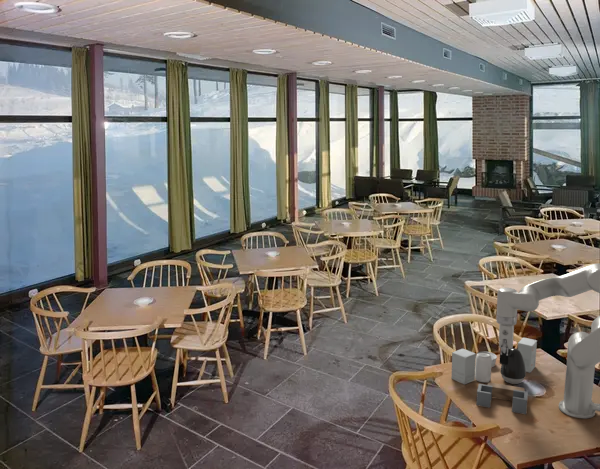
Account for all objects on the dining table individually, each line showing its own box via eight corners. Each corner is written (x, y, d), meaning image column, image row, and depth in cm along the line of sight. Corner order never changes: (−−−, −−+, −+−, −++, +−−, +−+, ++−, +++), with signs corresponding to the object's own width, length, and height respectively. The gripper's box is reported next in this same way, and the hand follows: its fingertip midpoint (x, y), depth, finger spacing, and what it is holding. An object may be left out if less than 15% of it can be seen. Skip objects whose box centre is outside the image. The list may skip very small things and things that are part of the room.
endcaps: (526, 405, 209) (527, 391, 208) (526, 414, 203) (527, 400, 202) (478, 397, 216) (478, 383, 215) (476, 405, 210) (477, 391, 209)
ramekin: (500, 366, 243) (500, 357, 242) (483, 369, 241) (484, 360, 240) (488, 358, 252) (488, 350, 251) (472, 361, 249) (472, 352, 248)
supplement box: (475, 380, 231) (476, 353, 228) (464, 385, 227) (465, 357, 224) (461, 374, 237) (462, 347, 234) (450, 378, 233) (451, 352, 230)
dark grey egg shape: (495, 381, 229) (497, 348, 226) (507, 373, 236) (509, 342, 233) (517, 389, 222) (520, 356, 219) (529, 381, 228) (531, 348, 225)
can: (491, 383, 227) (492, 357, 225) (475, 382, 229) (477, 356, 226) (489, 376, 234) (490, 351, 231) (474, 375, 235) (475, 350, 232)
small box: (521, 363, 246) (523, 337, 244) (535, 366, 242) (537, 340, 240) (515, 369, 240) (517, 342, 237) (530, 373, 236) (532, 346, 233)
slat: (523, 399, 214) (524, 388, 213) (523, 403, 211) (524, 392, 210) (487, 393, 220) (488, 382, 219) (486, 397, 217) (487, 386, 216)
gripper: (515, 327, 200) (513, 369, 203) (517, 312, 215) (515, 352, 219) (494, 325, 203) (493, 366, 206) (498, 310, 218) (496, 349, 222)
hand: (504, 359), depth 213 cm, fingers open, 9 cm apart
